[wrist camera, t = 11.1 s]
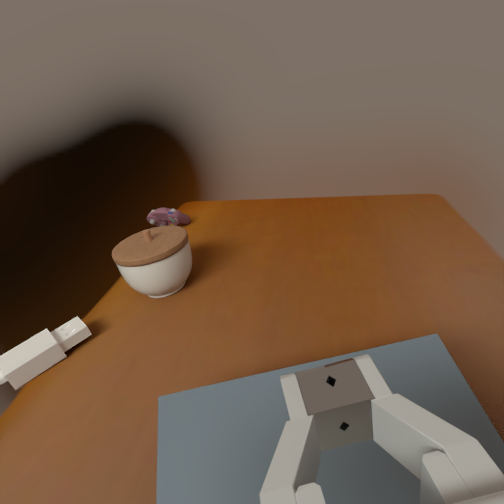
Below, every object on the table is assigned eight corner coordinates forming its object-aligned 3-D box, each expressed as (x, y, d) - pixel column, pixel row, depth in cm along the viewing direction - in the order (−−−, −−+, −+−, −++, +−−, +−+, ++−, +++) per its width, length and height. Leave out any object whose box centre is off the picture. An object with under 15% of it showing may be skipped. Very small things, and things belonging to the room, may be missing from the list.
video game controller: (155, 234, 88) (140, 217, 83) (161, 220, 91) (147, 203, 85) (187, 233, 84) (173, 216, 79) (193, 219, 87) (179, 201, 81)
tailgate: (544, 509, 20) (437, 333, 28) (154, 600, 20) (158, 396, 28) (526, 512, 22) (430, 345, 30) (167, 596, 22) (167, 405, 30)
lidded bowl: (207, 264, 64) (192, 211, 59) (189, 305, 54) (168, 244, 48) (147, 270, 67) (127, 220, 62) (118, 311, 56) (91, 253, 51)
